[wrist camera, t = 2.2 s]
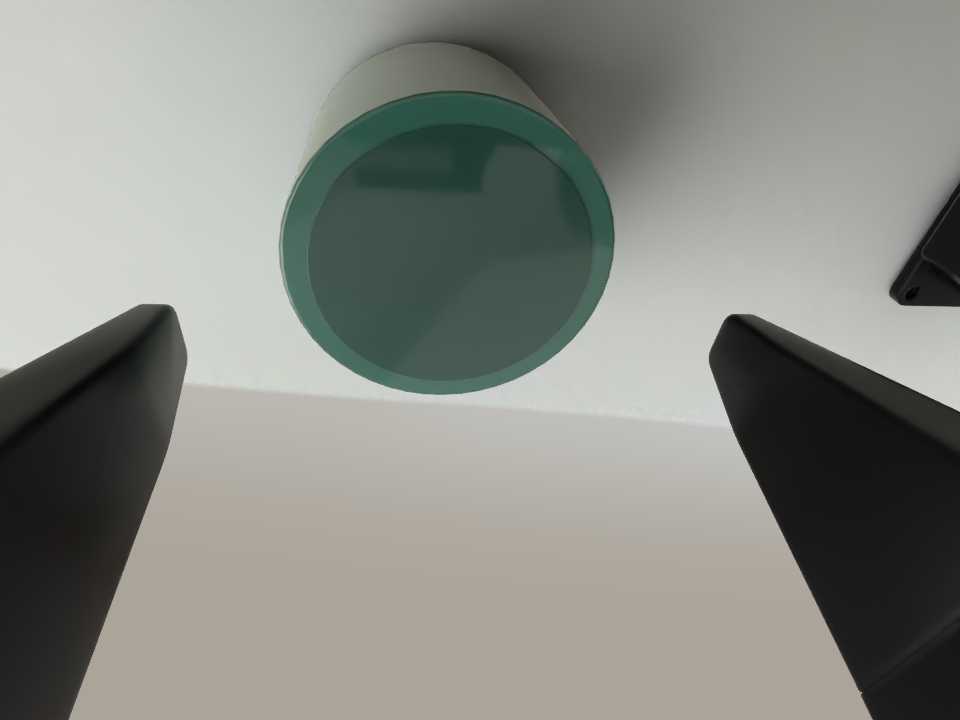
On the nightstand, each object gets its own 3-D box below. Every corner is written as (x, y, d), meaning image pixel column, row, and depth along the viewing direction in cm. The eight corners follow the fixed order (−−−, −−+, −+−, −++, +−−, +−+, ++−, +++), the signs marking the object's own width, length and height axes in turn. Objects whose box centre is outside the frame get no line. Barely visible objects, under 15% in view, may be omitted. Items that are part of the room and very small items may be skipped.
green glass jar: (576, 52, 13) (661, 109, 9) (532, 286, 17) (577, 396, 13) (296, 23, 12) (252, 73, 8) (318, 281, 16) (295, 400, 12)
